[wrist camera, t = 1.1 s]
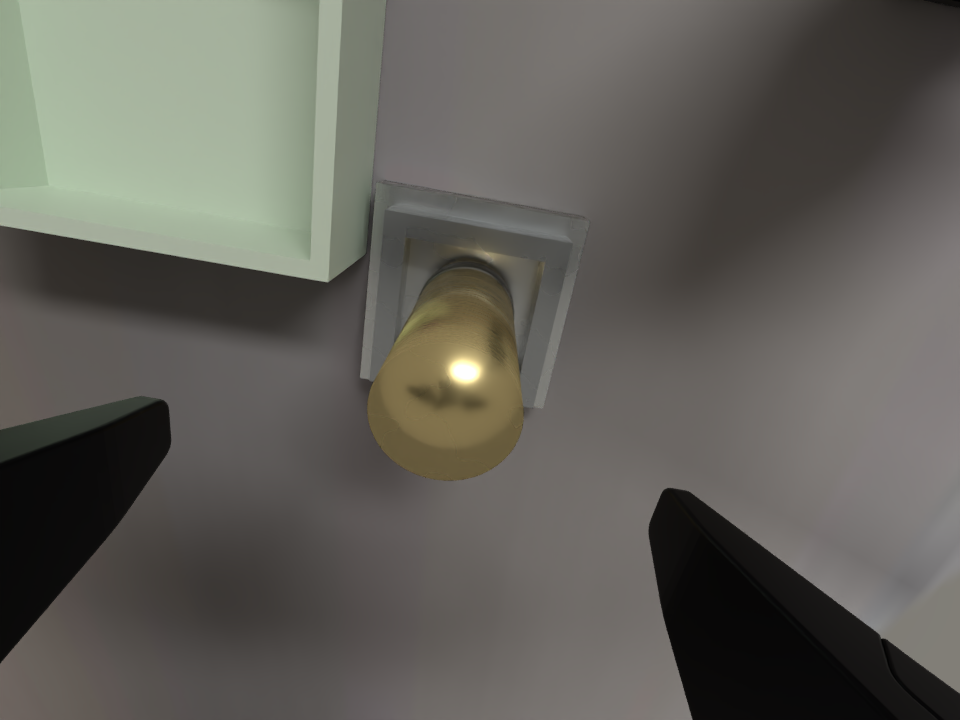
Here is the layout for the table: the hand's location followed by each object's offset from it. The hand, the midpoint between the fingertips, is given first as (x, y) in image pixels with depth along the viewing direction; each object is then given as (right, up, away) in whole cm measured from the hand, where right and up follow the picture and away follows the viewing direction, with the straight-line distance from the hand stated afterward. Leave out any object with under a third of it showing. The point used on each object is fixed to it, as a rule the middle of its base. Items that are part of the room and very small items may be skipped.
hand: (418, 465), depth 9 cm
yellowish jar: (+1, +4, +11) cm, 12 cm away
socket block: (+1, +5, +12) cm, 13 cm away
